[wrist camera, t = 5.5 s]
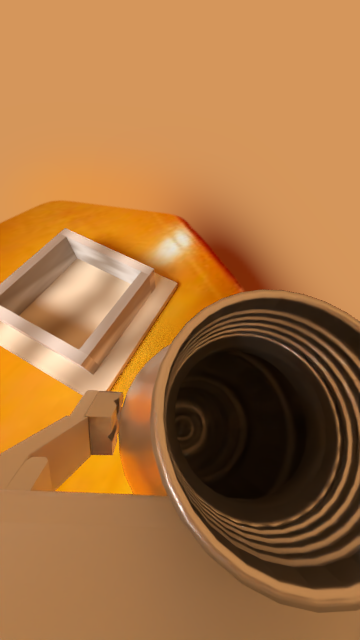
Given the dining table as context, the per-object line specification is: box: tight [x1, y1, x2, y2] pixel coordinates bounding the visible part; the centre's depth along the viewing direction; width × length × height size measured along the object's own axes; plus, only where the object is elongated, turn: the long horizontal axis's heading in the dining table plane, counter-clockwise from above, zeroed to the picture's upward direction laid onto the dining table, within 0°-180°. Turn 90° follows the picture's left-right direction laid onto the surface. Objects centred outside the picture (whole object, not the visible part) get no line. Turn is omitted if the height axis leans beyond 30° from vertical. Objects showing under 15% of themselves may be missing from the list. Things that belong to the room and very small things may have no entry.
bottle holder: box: [0, 228, 178, 395], centre depth 24 cm, size 16×16×4 cm
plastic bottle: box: [119, 290, 360, 613], centre depth 12 cm, size 6×7×20 cm
